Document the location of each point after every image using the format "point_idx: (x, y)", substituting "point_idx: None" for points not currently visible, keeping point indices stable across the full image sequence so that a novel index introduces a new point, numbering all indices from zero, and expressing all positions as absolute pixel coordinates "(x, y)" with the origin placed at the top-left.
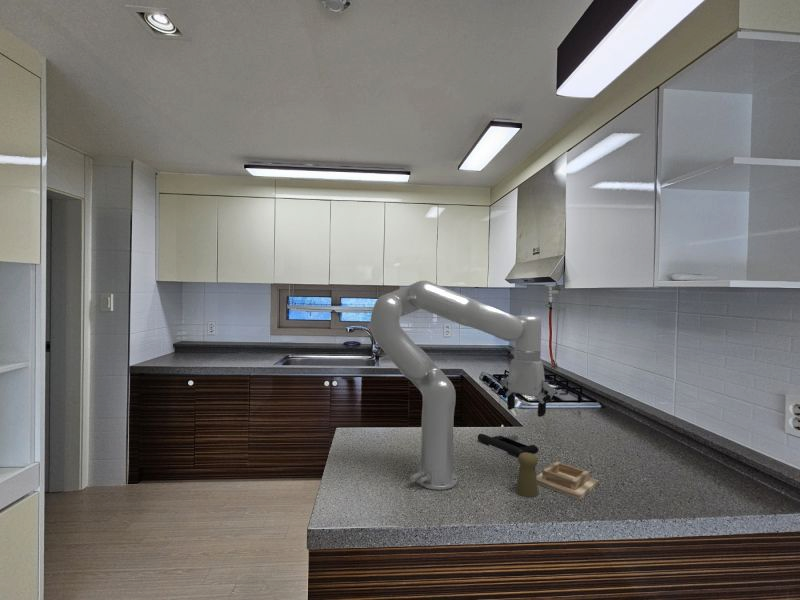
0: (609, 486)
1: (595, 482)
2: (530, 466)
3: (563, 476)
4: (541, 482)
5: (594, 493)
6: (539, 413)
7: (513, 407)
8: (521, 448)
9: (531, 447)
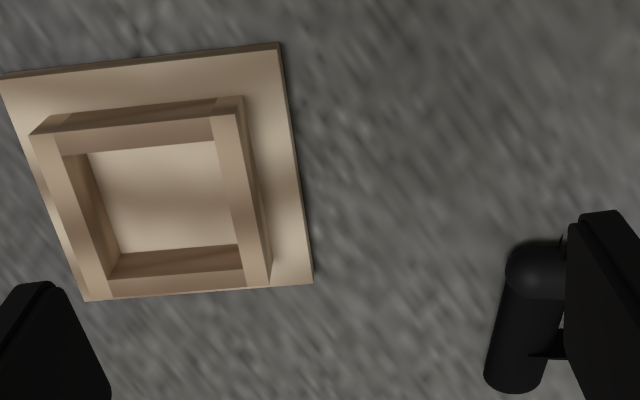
0: None
1: (73, 270)
2: None
3: (111, 141)
4: (218, 53)
5: (33, 195)
6: (1, 313)
7: (568, 327)
8: (539, 306)
9: (510, 361)
